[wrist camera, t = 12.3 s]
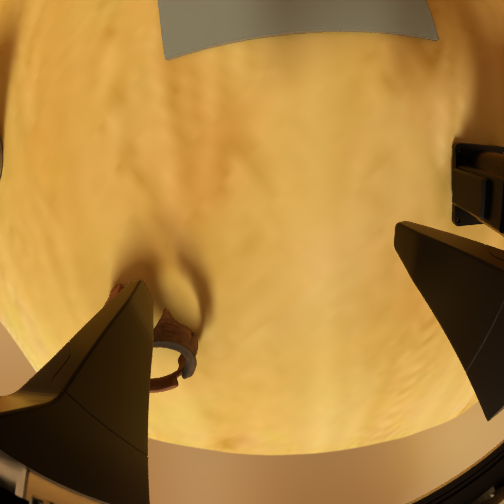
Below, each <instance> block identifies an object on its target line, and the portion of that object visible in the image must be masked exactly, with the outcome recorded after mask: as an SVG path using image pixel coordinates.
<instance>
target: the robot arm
mask: <svg viewBox="0 0 504 504" xmlns="http://www.w3.org/2000/svg"><path fill="white" fill-rule="evenodd" d="M458 147H459V148H460V151H459V152H458ZM503 152H504V147H499V146H490V145H480V144H468V143H455V144H454V145H453V193H452V202H453V211H452V222H453V223H454V224H455V225H456V226H465V225H476V224H485V225H487V226H488V227H490V228H491V229H493V230H494V231H496V232H497V233H499V234H500V235H502V236H503V237H504V154H503ZM458 217H459V220H458V221H457V218H458ZM394 247H395V250H396V252H397V253H398V255H399V257H400V259H401V260H402V262H403V264H404V266H405V268H406V269H407V271H408V273H409V275H410V277H411V279H412V280H413V282H414V284H415V285H416V287H417V288H418V290H419V291H420V293H421V294H422V296H423V297H424V299H425V301H426V302H427V304H428V305H429V307H430V309H431V310H432V312H433V314H434V315H435V317H436V318H437V320H438V322H439V324H440V325H441V327H442V329H443V330H444V332H445V334H446V336H447V338H448V339H449V341H450V343H451V345H452V347H453V348H454V350H455V352H456V354H457V356H458V358H459V360H460V362H461V364H462V366H463V368H464V370H465V372H466V374H467V376H468V378H469V380H470V382H471V385H472V387H473V389H474V391H475V393H476V396H477V398H478V400H479V403H480V405H481V407H482V409H483V412H484V414H485V417H486V419H487V421H489V420H491V419H492V418H493V417H494V416H496V415H497V414H498V413H499V412H501V411H502V410H503V409H504V250H501V249H498V248H495V247H492V246H489V245H484V244H483V243H480V242H476V241H473V240H470V239H467V238H464V237H461V236H458V235H454V234H451V233H448V232H444V231H441V230H437V229H434V228H430V227H427V226H423V225H420V224H416V223H412V222H409V221H403V222H398V223H397V224H396V226H395V236H394ZM152 351H153V299H152V297H151V295H150V293H149V291H148V288H147V286H146V284H145V282H144V281H143V280H141V279H139V280H135V281H131V282H130V283H129V284H128V285H127V286H126V287H124V288H123V289H122V290H121V291H120V292H119V293H118V294H117V295H116V296H115V297H114V298H113V299H112V300H111V301H109V302H108V303H107V304H106V305H105V306H104V307H103V308H102V309H101V310H100V311H99V312H98V313H97V314H96V315H95V316H94V317H93V318H92V319H91V320H90V321H89V322H88V323H87V324H86V325H85V326H84V327H83V328H82V329H81V330H80V331H79V332H78V333H77V334H76V335H75V336H74V337H73V338H72V339H71V340H70V342H68V343H67V344H66V345H65V346H64V347H63V348H62V349H61V350H60V351H59V352H58V353H57V354H56V355H55V356H54V357H53V358H52V359H51V360H50V361H49V362H48V363H47V364H46V365H45V366H43V367H42V368H41V369H40V370H39V371H38V372H37V373H36V374H35V375H34V376H33V377H32V378H31V379H30V380H29V381H28V382H27V383H26V384H25V385H23V386H22V388H20V389H19V390H18V391H16V392H15V393H12V394H10V395H6V396H0V504H150V501H149V481H148V457H147V456H148V410H149V390H150V375H151V362H152ZM407 504H504V440H503V441H502V442H501V443H499V444H498V445H497V446H496V447H495V448H494V449H492V450H491V451H490V452H488V453H487V454H486V455H485V456H483V457H482V458H481V459H479V460H478V461H477V462H475V463H474V464H473V465H471V466H470V467H468V468H467V469H466V470H464V471H463V472H461V473H460V474H458V475H457V476H455V477H454V478H452V479H450V480H449V481H447V482H446V483H444V484H442V485H441V486H439V487H437V488H435V489H434V490H432V491H430V492H428V493H427V494H425V495H423V496H421V497H419V498H417V499H415V500H413V501H411V502H409V503H407Z"/></svg>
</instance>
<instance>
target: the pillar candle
mask: <svg viewBox="0 0 504 504" xmlns="http://www.w3.org/2000/svg"><path fill="white" fill-rule="evenodd" d="M2 163H3V154H2V145H1V139H0V175H1V170H2Z"/></svg>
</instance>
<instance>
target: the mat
mask: <svg viewBox="0 0 504 504" xmlns="http://www.w3.org/2000/svg"><path fill="white" fill-rule="evenodd" d="M158 7H159V16H160V24H161V32H162V40H163V48H164V55H165V59H166V60H171V59H174V58H177V57H180V56H183V55H186V54H190V53H193V52H197V51H201V50H204V49H208V48H212V47H216V46H221V45H225V44H230V43H235V42H240V41H245V40H251V39H257V38H263V37H270V36H278V35H287V34H298V33H312V32H371V33H385V34H395V35H404V36H411V37H418V38H424V39H430V40H435V41H437V40H439V37H438V34H437V31H436V27H435V24H434V21H433V18H432V15H431V13H430V10H429V7H428V4H427V2H426V0H158Z"/></svg>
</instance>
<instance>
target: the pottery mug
mask: <svg viewBox="0 0 504 504" xmlns="http://www.w3.org/2000/svg"><path fill="white" fill-rule="evenodd" d="M122 288H123V287H122V285H121V284H120V285H118V286H117V287H115V288H114V289H113V291H112V292H111V293H110V295H109V298H108V300H107V302H106V303H105V305H106V304H107V303H108V302H109V301H111V300H112V299H113V298H114V297H115V296H116V295H117V294H118V293H119V292H120V291H121V290H122ZM105 305H104V306H105ZM153 347H163V348H169V349H173V350H176V351H178V352H180V353H181V355H180V357H179V358H178V364H179V368H178V370H177V371H175V372H174V373H172V374H169V375H167V376H164V377H160V378H153V379H150V390H149V393H156V392H163V391H167V390H170V389H173V388H176V387H177V386H178V381H177V377H179V376H180V375H182V378H183V379H186V378H188V377H191V376H192V375H193V373H194V371H195V368H196V364H197V362H196V357H195V356H196V354H197V350H198V341H197V338H196V335H195V334H194V333H192V332H191V330H190V329H189V328H188V327H186V326H184V325H182V324H180V323H178V322H177V321H176V320H175V319H174V318H173V317H172V315H171V314H170V313H169V312H168V311H167V310H166V309H164V311H163V315H162V317H161V319H160V320H159V322H158V323H157V325H156V327H155V328H154V329H153Z"/></svg>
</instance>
